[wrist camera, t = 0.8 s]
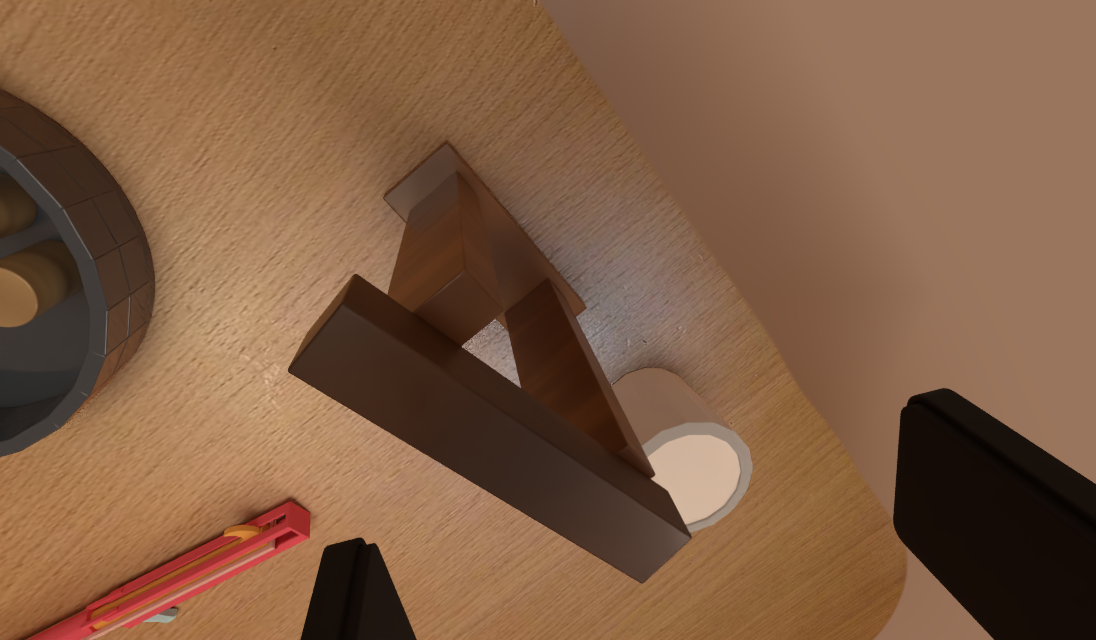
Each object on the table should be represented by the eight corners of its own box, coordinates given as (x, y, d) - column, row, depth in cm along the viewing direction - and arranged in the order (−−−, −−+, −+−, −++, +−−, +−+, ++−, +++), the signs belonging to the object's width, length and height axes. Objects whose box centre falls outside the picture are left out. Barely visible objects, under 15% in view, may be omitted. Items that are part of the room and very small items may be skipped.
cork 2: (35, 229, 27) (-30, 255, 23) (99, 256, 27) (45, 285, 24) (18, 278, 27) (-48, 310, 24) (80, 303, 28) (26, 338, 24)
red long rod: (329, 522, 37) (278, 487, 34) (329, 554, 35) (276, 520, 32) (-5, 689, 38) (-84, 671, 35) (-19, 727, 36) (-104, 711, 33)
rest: (384, 194, 29) (319, 322, 14) (446, 139, 28) (445, 215, 14) (527, 346, 33) (588, 564, 19) (583, 301, 33) (692, 489, 18)
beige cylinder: (612, 346, 34) (649, 411, 28) (717, 370, 36) (776, 436, 29) (575, 447, 36) (602, 527, 30) (676, 464, 38) (721, 544, 32)
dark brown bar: (306, 333, 14) (285, 371, 13) (355, 271, 14) (341, 302, 12) (623, 533, 18) (642, 585, 17) (668, 490, 18) (693, 538, 16)
